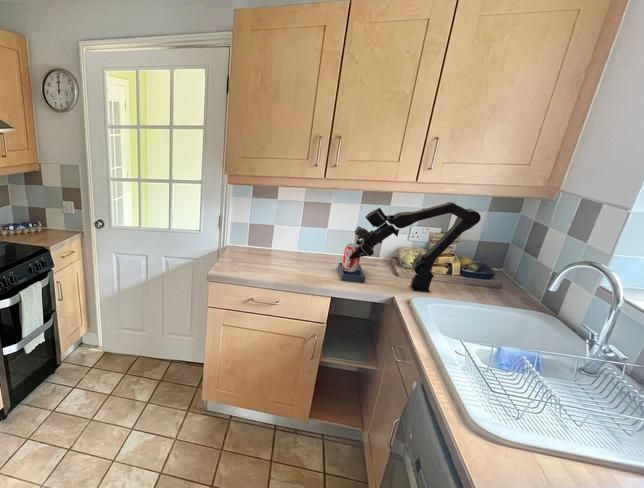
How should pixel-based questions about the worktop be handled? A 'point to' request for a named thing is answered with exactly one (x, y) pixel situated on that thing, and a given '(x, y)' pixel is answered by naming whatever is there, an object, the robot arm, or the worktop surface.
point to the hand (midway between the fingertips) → (348, 256)
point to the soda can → (348, 263)
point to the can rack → (351, 274)
